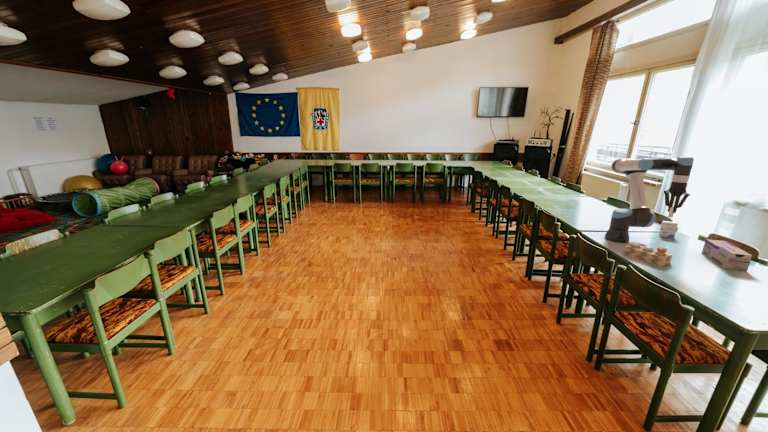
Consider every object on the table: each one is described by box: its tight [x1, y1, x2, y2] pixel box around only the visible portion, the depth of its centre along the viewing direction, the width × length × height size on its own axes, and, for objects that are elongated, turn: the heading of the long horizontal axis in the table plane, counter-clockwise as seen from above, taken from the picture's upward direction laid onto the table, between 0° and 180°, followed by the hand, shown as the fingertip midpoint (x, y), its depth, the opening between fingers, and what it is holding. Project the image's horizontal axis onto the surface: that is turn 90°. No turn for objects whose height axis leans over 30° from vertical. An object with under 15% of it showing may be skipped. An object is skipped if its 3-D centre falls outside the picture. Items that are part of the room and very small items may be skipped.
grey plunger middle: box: [643, 245, 654, 252], centre depth 205 cm, size 5×5×8 cm
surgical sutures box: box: [701, 238, 753, 273], centre depth 198 cm, size 25×11×11 cm, turn 158°
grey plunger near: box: [631, 242, 642, 249], centre depth 211 cm, size 5×5×8 cm
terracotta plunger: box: [656, 246, 668, 256], centre depth 198 cm, size 5×5×8 cm
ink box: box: [658, 220, 679, 239], centre depth 243 cm, size 9×5×12 cm, turn 58°
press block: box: [622, 243, 673, 268], centre depth 205 cm, size 22×10×6 cm, turn 27°
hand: (670, 217), depth 205 cm, fingers closed
